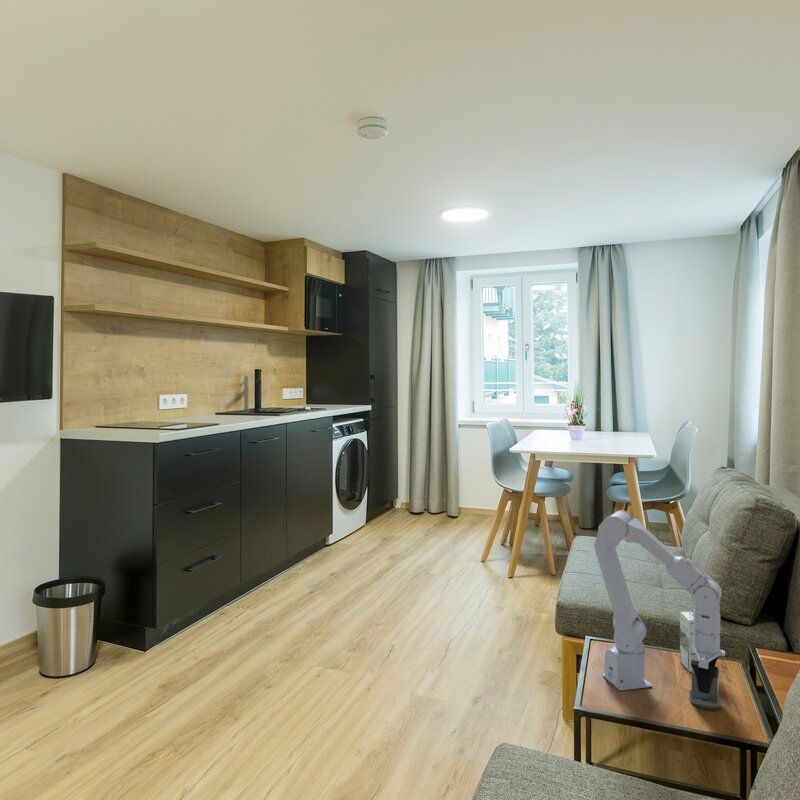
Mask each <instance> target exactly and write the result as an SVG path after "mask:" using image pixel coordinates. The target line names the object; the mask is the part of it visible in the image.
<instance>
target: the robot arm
mask: <svg viewBox="0 0 800 800" xmlns="http://www.w3.org/2000/svg"><path fill="white" fill-rule="evenodd" d="M624 538H625V542H626V543H632V544H639V545H640V546H641V547H642V548H644V549H645V550H646V551H647V552H649V553H650V554H651V555H652V556H654V557H655V558H656V559H658V561H660V562H661V563H662V564H663V565H665V569H666V574H668V575H669V576H670V577H671V578H672V579H673V580H674V581H675V582H676V583H678V585H680V586H681V587H682V588H683V589H684V590H686V592H688V593H690V594H691V599H692V601H693V603H694V609H693V612H694V629H693V645H692V649H693V651H694V653H695V654H696V656H697V657H698V659H699V661H695V660H691V666H692V668H693V670H694V672H695V675H696V679H697V684H698V689H699V692H703V693H706V694H709V692H710V688H711V683H712V679H713V677H714V675H715V674H716V672H717V670H718V669H719V667H718V666H716V664H717V661H718V659H719V658H720V656H721V657H725V655H726V651H725V650H724V649H720V646H721V613H720V611H721V607H720V602H721V597H722V595H723V593H722V587H721V586H720V584H719V583H718V581H717V580H716V579H714V578H712V577H709V575H707V574H704V573H703V572H702V571H700V570H699V569H698V568H697V567H695V566H694V564H693V561H692V559H690V558H687V559H686V558H685V557H684V556H681V555H680V556H679V555H674V553H673V552H671V551H670V549H668V548H667V547H666V546H665V544H663V543H662V542H661V541H660V540H659V539H658V538H657V537H656V535H654V534H653V533H652V532H651V531H650V530H649V529H647V527H646V526H644V524H643V523H642V522H641V521H640V520H639V519H637V518H636V517H634V516H633V515H632V514H631V513H630V512H628V511H626V510H617V511H615V512H613V513H612V514H611V515H609V516H607V517H605V518H604V520H603V521H602V522H601V523H600V524H599V525H598V530H597V534H596V538H595V542H594V546H593V547H594V551H595V554H596V557H597V561H598V564H599V568H600V572H601V575H602V578H603V582H604V584H605V588H606V591H607V595H608V598H609V602H610V605H611V609H612V612H613V617H612V619H613V620H612V625H613V629H614V632H613V642H614V644H615V645H614V646H613V647H611V648H608V649H606V651H605V653H604V673H603V674H602V676H603V677H604V678H605V679H606V680H608V682H609V683H611V685H613V686H614V688H616V689H617V690H618V691H627V690H628V691H629V690H637V689H643V688H644V689H645V688H651V687H653V684H652V683H650V682H649V681H648V680H647V679H645V675H646V674H645V672H646V668H645V667H646V665H645V664H646V663H645V662H646V647H645V645H644V642H643V640H644V638H646V636H647V632H648V630H647V626H646V625H645V623H644V622H643V621H642V618H640V615H639V611H637V609H635V608H634V606H633V605H634V604H633V602H632V599H631V595H630V592H629V589H628V585H627V583H626V580H625V577H624V576H625V575H624V572H623V568H622V566H621V562H620V560H619V556H618V553H617V552H618V551H617V548H618V546H619V544H620V543H621V541H622V540H623V539H624Z"/></svg>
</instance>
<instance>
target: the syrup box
mask: <svg viewBox="0 0 800 800" xmlns="http://www.w3.org/2000/svg"><path fill="white" fill-rule="evenodd" d="M679 614H680V615H679V663H680V664H681V665H682V666H683V667H684V668H685V669H686V670H687V671H688V672H689V673H692V671H693V668H692V666H691V660H695V661H699V659H698V657H697V656H696V654H695V653H694V651H693V649H692V645H693V629H694V611H680V613H679Z"/></svg>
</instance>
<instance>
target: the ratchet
mask: <svg viewBox="0 0 800 800" xmlns="http://www.w3.org/2000/svg"><path fill="white" fill-rule="evenodd" d="M688 692H689V693H688V695H689V696H688V699H689V702H690V704H692V705H693V706H694V707H695V708H698V709H699V710H700V709H701V710H703V711H708V712H719V711H720V710H721V709H722V708H723V706H722V703H723V702H722V701H723V699H722V696H721V695H720V694H719V695H718V700H717V703H713V702H709V701H706V700H702V699H698V698H695V697H692V688H690V689H689V691H688Z"/></svg>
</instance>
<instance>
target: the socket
mask: <svg viewBox="0 0 800 800" xmlns="http://www.w3.org/2000/svg"><path fill="white" fill-rule="evenodd" d="M691 689H692V697H695V698H698V699H702V700H706V701H709V702H713V703H717V700H718V695H720V669H719V668H718V670H717V672H716V674H715V675H714V677H713V679H712V683H711V688H710V692H709V694H706V693H703V692H699V689H698V684H697V679H696V675H695V672H694V670H693V671H692V672H691Z"/></svg>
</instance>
